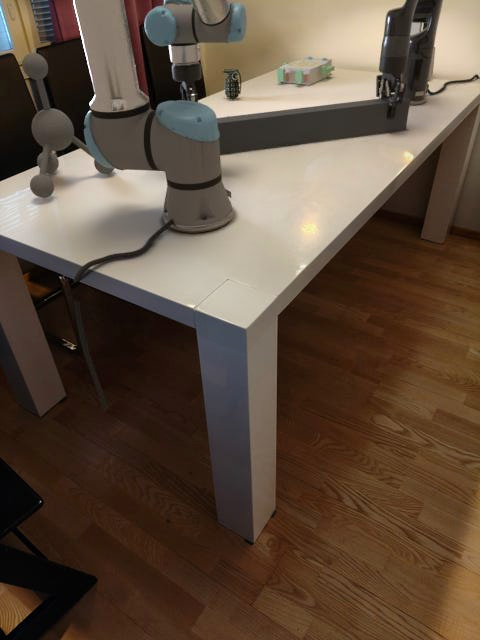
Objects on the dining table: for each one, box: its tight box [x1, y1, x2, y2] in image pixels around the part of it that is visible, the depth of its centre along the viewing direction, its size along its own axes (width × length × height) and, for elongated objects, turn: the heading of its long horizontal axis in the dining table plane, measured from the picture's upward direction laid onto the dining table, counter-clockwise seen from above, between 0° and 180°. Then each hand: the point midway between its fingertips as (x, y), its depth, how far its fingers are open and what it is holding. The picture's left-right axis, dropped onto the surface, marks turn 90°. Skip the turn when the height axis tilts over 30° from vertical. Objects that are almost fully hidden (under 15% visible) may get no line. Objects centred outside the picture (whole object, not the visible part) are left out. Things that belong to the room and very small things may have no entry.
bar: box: [217, 97, 411, 156], centre depth 142 cm, size 70×5×9 cm, turn 104°
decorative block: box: [276, 56, 336, 86], centre depth 205 cm, size 26×6×20 cm
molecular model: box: [21, 52, 116, 199], centre depth 119 cm, size 24×22×30 cm
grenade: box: [221, 68, 242, 100], centre depth 184 cm, size 7×6×10 cm
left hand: (195, 152), depth 139 cm, fingers closed on bar, 5 cm apart
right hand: (386, 116), depth 146 cm, fingers closed on bar, 5 cm apart
